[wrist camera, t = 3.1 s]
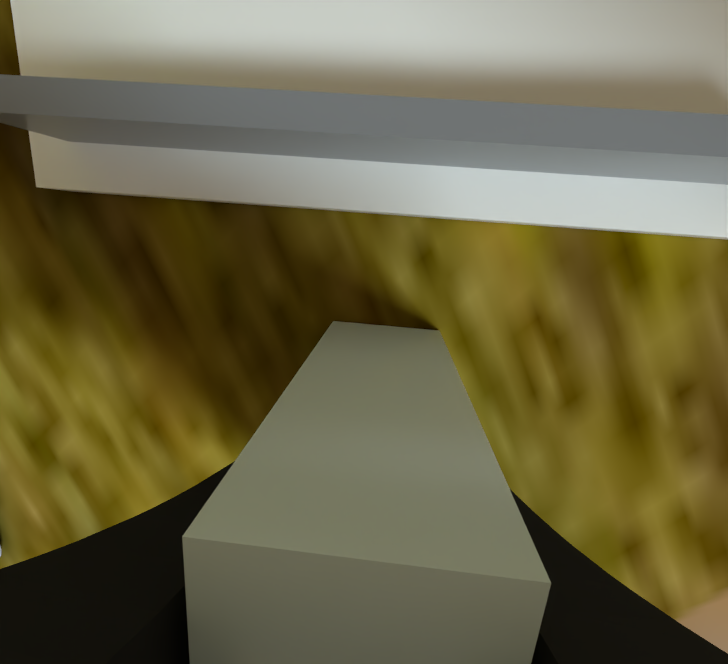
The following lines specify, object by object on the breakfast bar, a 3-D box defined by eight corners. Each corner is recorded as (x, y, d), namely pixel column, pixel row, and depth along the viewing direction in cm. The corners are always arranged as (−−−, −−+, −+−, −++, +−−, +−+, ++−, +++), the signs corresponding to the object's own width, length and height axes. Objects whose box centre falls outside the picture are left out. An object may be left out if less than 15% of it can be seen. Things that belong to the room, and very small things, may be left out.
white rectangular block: (416, 510, 12) (450, 984, 5) (323, 499, 12) (206, 937, 5) (439, 330, 11) (551, 583, 3) (333, 320, 11) (182, 536, 3)
